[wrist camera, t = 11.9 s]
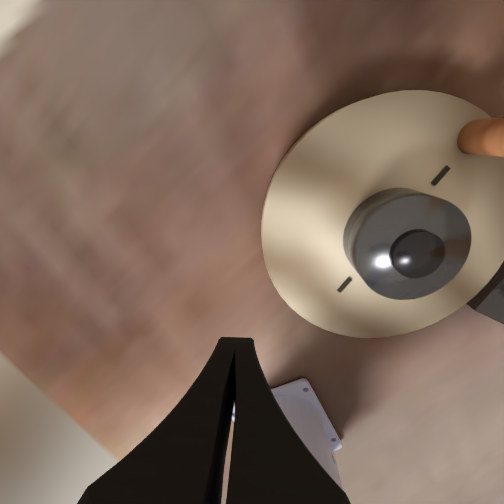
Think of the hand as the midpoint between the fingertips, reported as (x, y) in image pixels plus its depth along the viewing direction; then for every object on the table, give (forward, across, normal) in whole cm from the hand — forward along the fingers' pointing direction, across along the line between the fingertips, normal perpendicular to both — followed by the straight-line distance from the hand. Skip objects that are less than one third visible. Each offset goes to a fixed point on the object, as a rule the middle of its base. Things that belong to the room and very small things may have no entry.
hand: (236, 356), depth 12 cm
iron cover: (+8, -9, -3) cm, 13 cm away
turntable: (+10, -9, -3) cm, 14 cm away
